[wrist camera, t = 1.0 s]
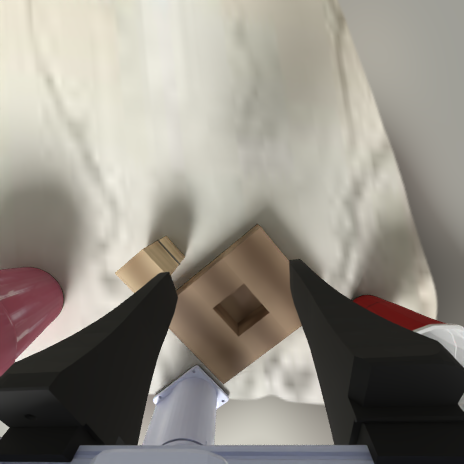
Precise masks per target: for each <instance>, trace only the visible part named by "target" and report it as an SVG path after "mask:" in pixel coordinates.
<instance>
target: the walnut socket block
mask: <svg viewBox="0 0 464 464" xmlns="http://www.w3.org/2000/svg"><path fill="white" fill-rule="evenodd" d="M176 293H177V296H178V300H177V305H176V309H175V313H174V315H173V318H172V321H171V323H170V326H169V329H170V330H171V331H172V332H173V333H174V334H175V335H176V336H177V337H178V338H179V339H180V340H181V341H182V342H183V343H184V344H185V345H186V346H187V347H188V348H189V349H190V350H191V351H192V352H193V354H194V355H195V356H196V357H197V358H198V359H199V360H200V361H201V362H202V363H203V364H204V365H205V366H206V367H207V368H208V369H209V370H210V371H211V372H212V373H213V374H214V375H215V376H216V377H217V378H218V379H219V380H220V381H221V382H222V383H223V384H225V383H226V382H227V381H229V380H230V379H231V378H233V377H234V376H235V375H237V374H238V373H239V372H241V371H242V370H243V369H245V368H246V367H247V366H249V365H250V364H251V363H253V362H254V361H255V360H257V359H258V358H259V357H261V356H262V355H263V354H265V353H266V352H267V351H269V350H270V349H271V348H273V347H274V346H275V345H277V344H278V343H279V342H281V341H282V340H283V339H285V338H286V337H287V336H289V335H290V334H291V333H293V332H294V331H295V330H297V329H298V328H299V327H301V326H302V324H301V322H300V319H299V316H298V314H297V311H296V308H295V306H294V302H293V298H292V294H291V290H290V272H289V260H288V259H287V258H286V257H285V256H284V254H283V253H282V252H281V251H280V249H279V248H278V247H277V246H276V245H275V243H274V242H273V241H272V240H271V239H270V237H269V236H268V235H267V234H266V232H265V231H264V230H263V229H262V228H261V227H260V226H259V225H258V224H257V225H256V226H254V227H253V228H252V229H251V230H249V231H248V232H247V233H246V234H245V235H243V236H242V237H241V238H240V239H238V240H237V241H236V242H235V243H234V244H232V245H231V246H230V247H229V248H228V249H226V250H225V251H224V252H223V253H221V254H220V255H219V256H218V257H217V258H215V259H214V260H213V261H212V262H210V263H209V264H208V265H207V266H206V267H204V268H203V269H202V270H201V271H200V272H198V273H197V274H196V275H195V276H193V277H192V278H191V279H190V280H189V281H187V282H186V283H185V284H184V285H182V286H181V287H180V288H179V289H178V290H176Z"/></svg>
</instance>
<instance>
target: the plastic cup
mask: <svg viewBox="0 0 464 464" xmlns="http://www.w3.org/2000/svg"><path fill="white" fill-rule="evenodd" d="M353 302H355V303H357V304H358V305H360V306H362V307H364V308H365V309H367V310H369V311H371V312H373V313H375V314H377V315H379V316H381V317H383V318H385V319H387V320H389V321H391V322H393V323H395V324H398V325H400V326H402V327H404V328H406V329H409V330H411V331H414V332H417V333H419V334H422V335H424V336H427V337H429V338H432V339H434V340H437V341H438V342H439V343H441V344H442V345H443V346H444V347H445V348H446V349H447V350H448V351H449V352H450V353H451V354H452V355H453V357H454V358H455V359H456V360H457V361H458V362H459V363H460V364H461V365H462V366H463V367H464V327H462V326H459V325H456V324H446V323H443V322H440V321H437V320H434V319H431V318H429V317H426V316H424V315H421V314H419V313H417V312H414V311H412V310H409V309H407V308H404V307H402V306H400V305H397V304H394V303H391V302H388V301H386V300H384V299H381V298H378V297H375V296H371V295H362V296H360V297H358V298H355V299H354V300H353ZM458 405H459V406H460V408H461V409H462V410H463V411H464V394H463V395H462V397H461V399H460V401H459V402H458Z"/></svg>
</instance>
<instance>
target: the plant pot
mask: <svg viewBox="0 0 464 464" xmlns="http://www.w3.org/2000/svg"><path fill="white" fill-rule="evenodd" d="M62 307H63V293H62V290H61V287H60V285H59V284H58V282H57V281H56V280H55V279H54V278H53V277H52V276H51V275H50V274H48V273H47V272H45V271H43V270H41V269H37V268H33V267H23V268H12V269H2V270H0V377H1V376H2V375H3V374H4V373H5V372H6V371H7V370H8V369H9V368H10V367H11V365H13V364H14V362H15V359H16V358H17V357H18V356H19V355H20V354H21V353H22V352H23V351H24V350H25V349H26V348H27V347H28V346H29V345H30V344H31V343H32V342H33V341H34V340H35V339H36V338H37V337H38V336H39V335H40V334H41V333H42V332H43V330H44V329H45V328H46V327H47V326H48V325H49V324H50V323H51V322H52V321H53V320H54V319H55V318H56V317H57V316H58V315H59V314H60V312H61V310H62Z"/></svg>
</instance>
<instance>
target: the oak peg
mask: <svg viewBox="0 0 464 464" xmlns="http://www.w3.org/2000/svg"><path fill="white" fill-rule="evenodd" d="M184 258H185V256H184V255H183V254H182V253H181V252H180V251H179V250H178V248H177V247H176V246H175V245H174V244H173V243H172V242H171V241H170V240H169V238H168V237H167V236H165V237H163V238H162V239H160V240H157V241H156V242H155V243H153V244H151V245H149V246H147V247H146V248H144V249H142V250H141V251H140V252H139V253H138V254H137V255H135V256H134V257H133V258H132V259H131V260H130V261H128V262H127V263H126V264H125V265H124V266H123V267H121V268H120V269H119V270H118V271H117V272H116V273H115V274H116V275H117V276H118V277H119V278H120V279H121V280H122V281H123V282H124V283H125V284H126V285H127V286H128V287H129V288H130V289H131V290H132V291H133V292H134V293H135V292H137V291H138V290H139V289H140V288H141V287H143V286H144V285H145V284H146V283H147V282H149V281H150V280H151V279H152V278H153V277H155V276H156V275H157V274H159V273H161V272H170V275H171V274H172V273H173V272H174V270H175V269H176V268H177V267H178V266H179V265H180V263H181V261H182V260H183V259H184Z"/></svg>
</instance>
